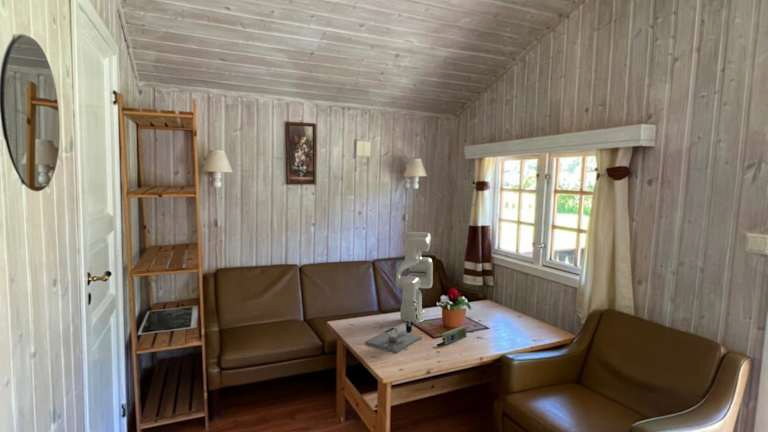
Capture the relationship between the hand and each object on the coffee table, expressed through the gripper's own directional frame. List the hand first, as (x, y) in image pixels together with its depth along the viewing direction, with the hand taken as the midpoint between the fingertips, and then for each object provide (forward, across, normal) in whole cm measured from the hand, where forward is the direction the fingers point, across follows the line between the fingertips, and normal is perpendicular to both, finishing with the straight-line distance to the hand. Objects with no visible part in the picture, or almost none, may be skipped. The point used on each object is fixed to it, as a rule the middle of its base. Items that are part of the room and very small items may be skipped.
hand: (408, 332), depth 249 cm
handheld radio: (+7, -20, -16) cm, 26 cm away
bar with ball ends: (+4, +6, +2) cm, 7 cm away
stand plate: (+6, +8, +4) cm, 11 cm away
